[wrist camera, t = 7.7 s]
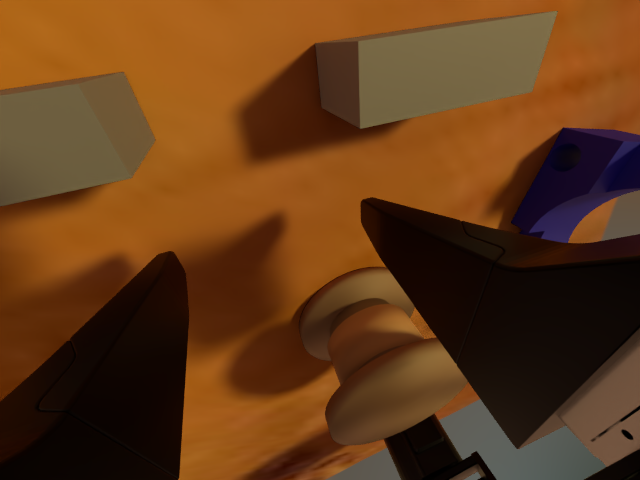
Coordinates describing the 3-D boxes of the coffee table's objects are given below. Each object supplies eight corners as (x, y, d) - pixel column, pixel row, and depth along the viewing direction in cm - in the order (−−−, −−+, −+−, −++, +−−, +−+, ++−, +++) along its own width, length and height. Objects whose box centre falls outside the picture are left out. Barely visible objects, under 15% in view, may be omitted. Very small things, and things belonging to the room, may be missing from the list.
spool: (404, 328, 21) (457, 406, 17) (308, 364, 20) (337, 460, 15) (414, 251, 17) (492, 330, 12) (288, 291, 15) (321, 398, 11)
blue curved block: (559, 127, 15) (716, 162, 10) (610, 129, 16) (768, 161, 12) (472, 286, 22) (544, 352, 17) (513, 278, 23) (590, 337, 18)
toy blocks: (456, 81, 11) (531, 91, 9) (-16, 173, 8) (-126, 233, 6) (466, 20, 10) (557, 10, 8) (-81, 102, 7) (-262, 134, 4)
